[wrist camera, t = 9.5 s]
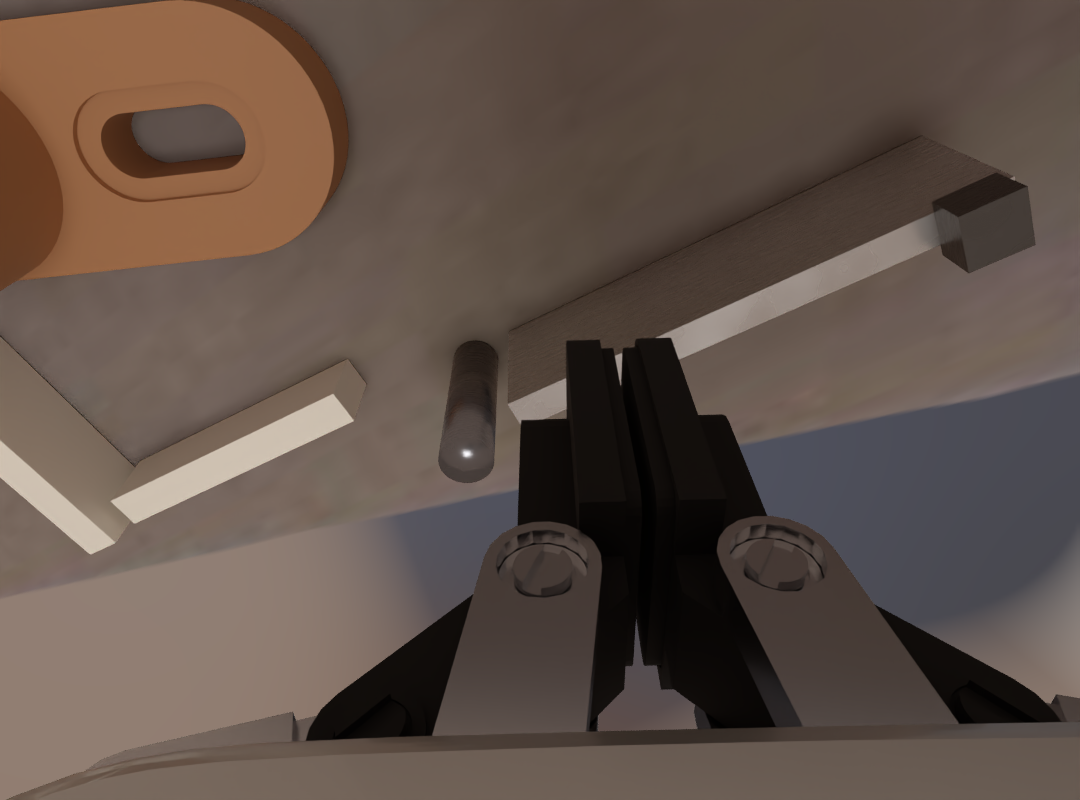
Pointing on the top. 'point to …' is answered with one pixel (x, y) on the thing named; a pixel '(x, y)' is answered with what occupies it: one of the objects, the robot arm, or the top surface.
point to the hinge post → (470, 414)
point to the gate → (783, 262)
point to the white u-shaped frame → (161, 479)
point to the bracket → (125, 169)
